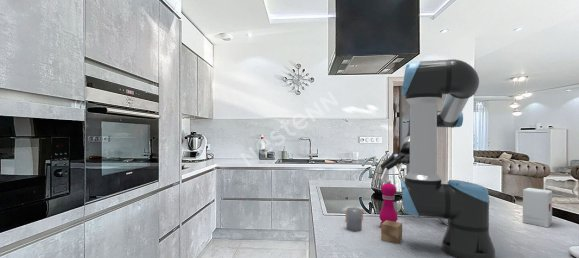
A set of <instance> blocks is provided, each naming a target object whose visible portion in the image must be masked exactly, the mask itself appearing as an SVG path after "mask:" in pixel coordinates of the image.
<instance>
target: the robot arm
mask: <svg viewBox="0 0 579 258" xmlns="http://www.w3.org/2000/svg"><path fill="white" fill-rule="evenodd" d="M404 69H405V70H404V75H403V82H402V88H401V96H403V97H405V101H406V102H407V104H408V105H409V107H410V108H409V113H408V114H409V115H408V128H407V134H406V136H405V139H403V143H402V145H401V147H400V150H399V153H398V154H397V153H395V152H392V153H391V155H390V156H389V157H388V158H387V159H385V161H383V162H382V163H381V164H380V166H379V167H380V168H381V176H380V180H381V183H382V184H385V181H386V179H387V176H388V174H389V170H391V169H393V168H394V167H396V166H397V165H401V164H403V165H405V164H406V165H409V171H408V173H407V174H406V175H404V180H402V181H400V187H401V196H402V202H403V203H402V204H403V209H404V212H405V214H407V215H409V216H416V217H424V218H425V217H426V218H432V219H433V218H435V219H444V220H447V227H446V230H445V233H444V235H443V237H442V241H441V249H442V251H444V252H445V253H446V254H448V255H450V256H451V257H455V258H496V249H495V246H494V244H493V243H494V242H493V241H492V238H491V236H490V229H489V228H490V227H489V226H490V222H489V221H490V218H489V217H490V195H489V190H488V189H487V187H485V186H484V185H481V184H477V183H473V182H469V181H465V180H458V179H449V180H448V181H447V183H442V177H440V175H438V173H437V159H438V158H437V150H438V149H437V147H438V146H437V144H438V143H437V142H438V140H437V139H438V137H437V136H438V135H437V134H438V128H452V129H453V128H460V127H462V125H463V122H464V113H463V110H464V108H465V106H466V105H467V103H468V101H469V99H470V98H471V97H473V96H474V95H475V94H476V93H477V91H478V88H479V85H480V78H479V75H478V72H477V71H476V69H475V68H474V67H473V66H471V65H470V64H469V63H467V62H466V61H463V60H460V59H456V58H455V59H454V58H453V59H442V60H441V59H440V60H439V59H437V60H422V61H421V60H419V61H415V62H409V63H407V64H406V65H405V68H404ZM443 95H445V98H444V101H443V104H442V107H441V109H440V110H438V104H439V103H440V102H441V101H442V100H443Z"/></svg>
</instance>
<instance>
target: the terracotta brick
mask: <svg viewBox="0 0 579 258" xmlns="http://www.w3.org/2000/svg"><path fill="white" fill-rule="evenodd" d="M358 208H359V207H358ZM359 209H361V210H362V221H364V209H363V208H359ZM345 222H346V223H347V209H346V210H345Z"/></svg>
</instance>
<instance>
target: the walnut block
mask: <svg viewBox="0 0 579 258" xmlns="http://www.w3.org/2000/svg"><path fill="white" fill-rule="evenodd" d="M380 229H381V230H380V231H381V232H380V233H381V235H380V238H381V239H380V240H381V241H383V242H387V243H393V244H396V245H397V244H400V242H401V241H402V240H403V222H399V221H396V222H394V221H388V220H386V221H384V222H383V223H382V224H381V227H380Z"/></svg>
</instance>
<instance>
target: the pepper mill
mask: <svg viewBox="0 0 579 258" xmlns="http://www.w3.org/2000/svg"><path fill="white" fill-rule="evenodd" d="M385 181H386V183H382V186H381V188H380V191H381V193H382V195H381V196H382V199H383V204H382V206H381V210H380V212H379V215H378V216H379V219H380V228H381V224H382V223H383V222H384V221H386V220H388V221H394V222H398V213H397V211H396V208H395V205H394V201H395V199H396V198H395V197H396V196H395V195H396V193H397V188H396V185H394V184H393V183H392V181H391V179H387V180H385Z"/></svg>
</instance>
